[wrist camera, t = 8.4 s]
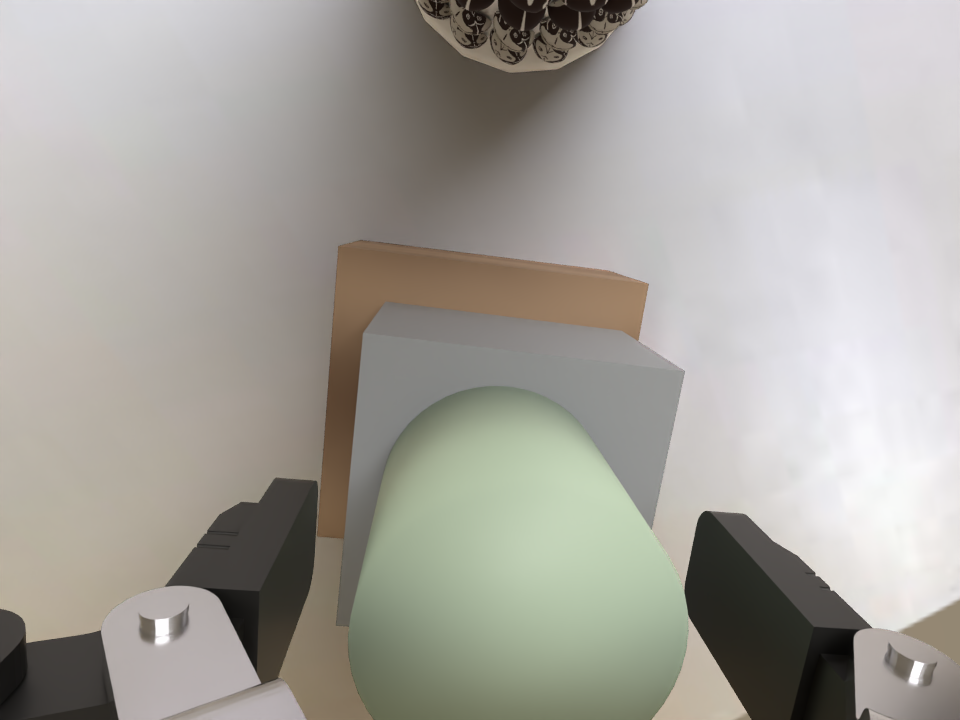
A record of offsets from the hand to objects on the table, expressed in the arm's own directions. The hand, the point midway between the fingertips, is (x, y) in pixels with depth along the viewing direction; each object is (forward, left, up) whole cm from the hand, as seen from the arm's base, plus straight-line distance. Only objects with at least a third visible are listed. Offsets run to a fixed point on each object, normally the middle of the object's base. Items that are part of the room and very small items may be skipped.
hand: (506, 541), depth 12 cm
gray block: (0, 0, -7) cm, 7 cm away
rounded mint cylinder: (0, 0, -2) cm, 2 cm away
